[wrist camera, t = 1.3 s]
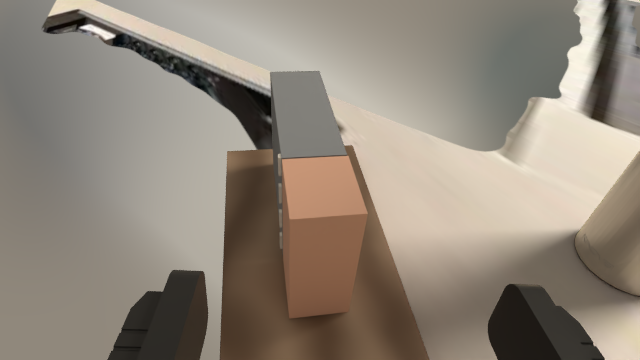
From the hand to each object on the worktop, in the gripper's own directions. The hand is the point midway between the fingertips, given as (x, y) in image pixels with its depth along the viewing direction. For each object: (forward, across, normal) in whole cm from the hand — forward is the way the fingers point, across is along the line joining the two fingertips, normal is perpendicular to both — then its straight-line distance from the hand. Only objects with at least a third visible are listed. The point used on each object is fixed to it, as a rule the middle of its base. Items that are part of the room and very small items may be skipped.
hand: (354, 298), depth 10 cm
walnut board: (+22, 0, +19) cm, 29 cm away
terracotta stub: (+17, -1, +18) cm, 25 cm away
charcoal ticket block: (+27, +1, +17) cm, 32 cm away
